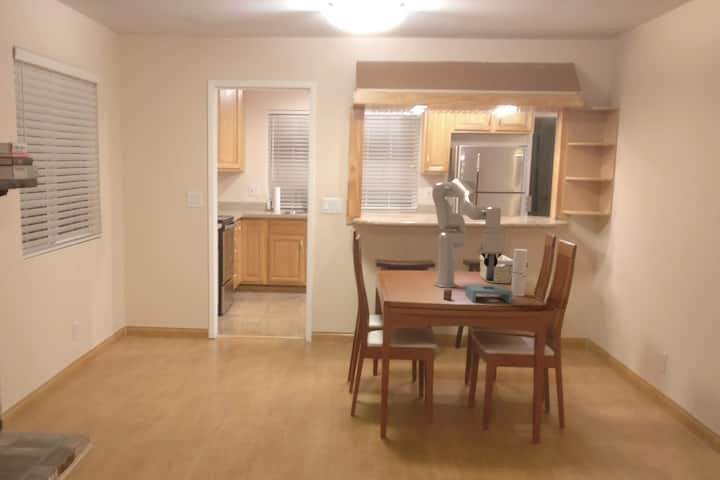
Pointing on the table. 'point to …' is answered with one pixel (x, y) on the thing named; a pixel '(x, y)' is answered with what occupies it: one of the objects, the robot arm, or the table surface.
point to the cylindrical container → (519, 272)
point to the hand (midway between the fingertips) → (490, 265)
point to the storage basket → (498, 270)
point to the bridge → (488, 291)
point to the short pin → (447, 294)
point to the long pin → (490, 267)
